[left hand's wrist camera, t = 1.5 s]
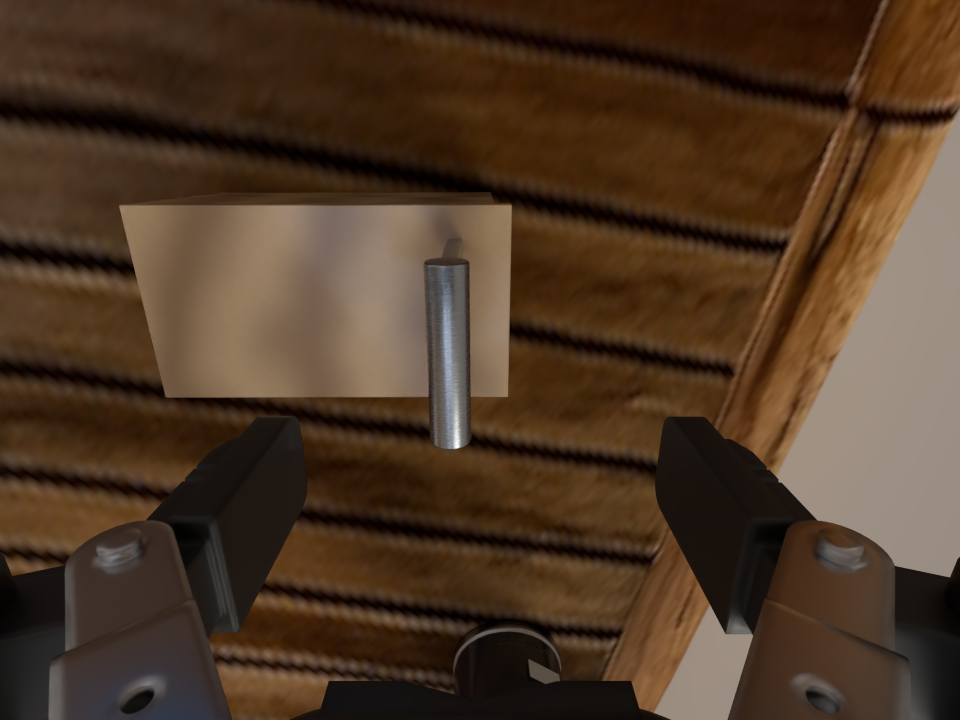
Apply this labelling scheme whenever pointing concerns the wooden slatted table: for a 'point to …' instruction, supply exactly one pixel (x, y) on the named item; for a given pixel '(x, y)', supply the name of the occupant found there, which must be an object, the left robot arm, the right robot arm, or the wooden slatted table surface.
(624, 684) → the left robot arm
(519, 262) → the wooden slatted table surface
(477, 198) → the chest
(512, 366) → the wooden slatted table surface
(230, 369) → the lid
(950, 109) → the wooden slatted table surface
